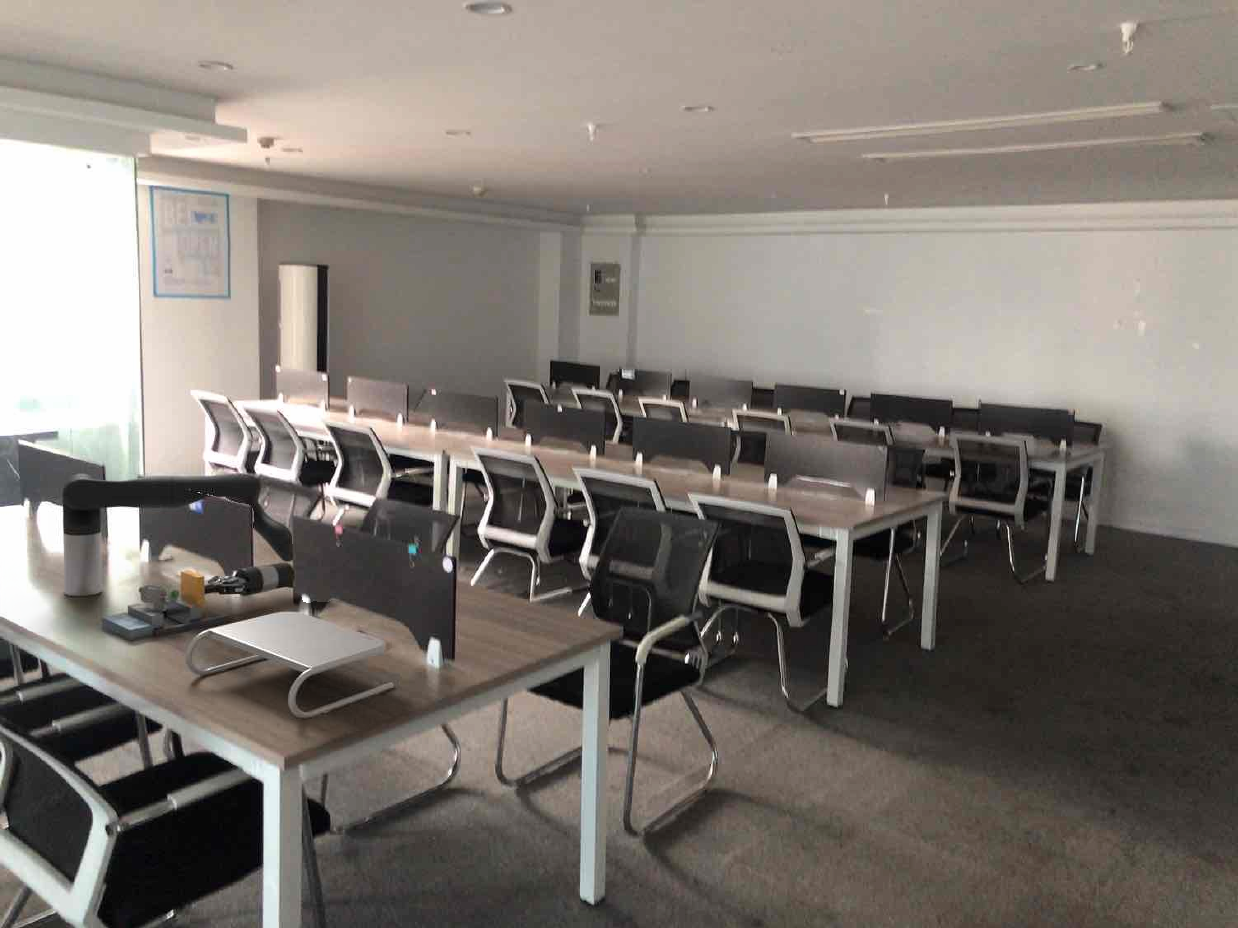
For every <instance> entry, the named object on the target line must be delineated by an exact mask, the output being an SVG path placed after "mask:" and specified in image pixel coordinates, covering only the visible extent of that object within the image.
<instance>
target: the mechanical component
mask: <svg viewBox="0 0 1238 928" xmlns="http://www.w3.org/2000/svg"><path fill="white" fill-rule="evenodd" d="M138 592H139V593H140V599H141V601H142V602H143V603H147V604H153V608H152V609H153V610H156V611H158V612H160V613H162V610H163V609H166V605H169V604H172V603H174V602H176V601H177V597H178V596H179V594H180V593H179V591H178V590H177V589H170V590H169V592H168V590H166V587H165V586H159V585H158V586H157V585H150V584H146V585H143V586H139V589H138ZM166 598H167V599H169V601H168V600H166Z"/></svg>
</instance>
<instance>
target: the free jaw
mask: <svg viewBox="0 0 1238 928" xmlns="http://www.w3.org/2000/svg"><path fill="white" fill-rule="evenodd" d="M204 585H205V575H202V574H200V573H197V572H195V571H191V570H189V569H187V570H181V571H180V596H179V595H178V597H177V601H176V602H174V603H172V604H169V605H165V609H166V616H165V617H167V618H170V619H173V620H175V621H176V622H179V623H181V624H185V623H190V622H194V621H199V620H204V619H205V594H204ZM165 600H168V601H169V599H167V598H165Z"/></svg>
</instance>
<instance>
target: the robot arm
mask: <svg viewBox="0 0 1238 928" xmlns="http://www.w3.org/2000/svg"><path fill="white" fill-rule="evenodd" d="M189 489H190V490H189ZM261 489H262V483H261V480H259V478H258V477H257V476H255V475H253V474H249V473H244V472H243V473H239V472H238V473H237V472H236V473H227V474H217V475H215V474H214V475H190V476H189V475H187V476H185V475H183V476H182V475H181V476H178V475H151V476H144V477H138V478H137V477H136V478H133V479H132V478H131V479H127V480H103V479H102V480H101V479H96V478H95V477H93V476H92V475H90V474H88V473H76V474H73V475H70V476H69V477H68V478H67V479H66V480H65V482H64V484H63V485H62V492H61V493H62V496H61V497H62V528H63V529H62V531H63V533H62V534H63V570H64V581H63V583H64V594H65V596H70V597H85V596H86V597H87V596H93V595H97V594H99V593H101V592H102V591H103V579H102V578H103V571H102V569H103V564H102V563H103V561H102V515H101V509H109V508H138V509H176V508H177V509H179V508H183V507H186V506H188V505H192V504H195V503H197V502H199V501H202V500H206V499H207V498H206V497H211V496H210V495H213V496H216V497H215V498H225V499H226V498H227V499H229V500H231V501H234V502H238V503H245V504H249V505H251V506H252V508H253V511H254V522H253V528H252V529H254V530H255V532H256V533H258V534H259V535H260V536H261V537H262V539H263V540H264V541H265V542H266V543H267V545H269V547H271V548H272V551H274V552H275V554H276V555H277V556H278V557H279V558H280V560H282V561H283V562H278V563H272V564H262V565H256V566H250V567H249V566H248V567H244V568H240V569H238V570H237V571H236V573H235V574H234V576H233V575H227V576H225V577H221V578H220V575H215V576H214V577H211V578H210V579H208V581H207V583H206V584H205V583H204V595H208V594H215V595H216V594H218V595H241V596H243V597H247V596H248V597H249V596H252V595H256V594H263V593H268V592H270V591H273V590H278V589H282V588H289V589H294V588H293V581H294V570H293V569H294V568H293V566H292V565H291V564H290V563H288V562H292V561H294V560H293V544H292V534H291V530H290V529H289V528H288V527H287V526H286V525H285V524H283V523H282V522H279V521H277V520H275V519H274V518H272V517H271V516H269V515H268V514H267V512H265V510H264V509H263V507H262V506H261V504H260V503H259V499H260V495H261ZM198 492H200V493H198ZM201 493H202V494H201ZM207 494H209V496H208V495H207ZM205 496H206V497H205ZM211 498H212V497H211Z"/></svg>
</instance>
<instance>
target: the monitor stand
mask: <svg viewBox="0 0 1238 928" xmlns="http://www.w3.org/2000/svg"><path fill="white" fill-rule="evenodd" d="M210 636H211V638H212V639H214V640H216V641H219V642H222V643H224V644H227V645H230V646H231V647H235V648H237V649H240V650H243V651H246V652H248V653H250V654H253V655H252V656H248V657H244V658H242V659H238V660H234V661H230V662H227V663H224V664H220V665H217V666H213V667H209V668H206V669H200V668H198V667H197V666H196V665H195V663H194V662H193V653H194V651H195V649H196V647H197V645H198V644H199V643H200V642H201V641H202V640H203V639H204V638H206V637H210ZM386 649H387V643H386V642H385V641H384V640H383V639H381V638H378V637H376V636H372V635H369V634H367V633H364V632H360V631H357V630H354V629H350V628H348V627H345V626H342V625H338V624H335V623H333V622H329V621H327V620H323V619H322V618H321V619H320V618H318V617H315V616H311V615H310V614H309V615H308V614H306V613H302V612H298V611H279V612H273V613H269V614H265V615H261V616H258V617H252V618H249V619H245V620H241V621H237V622H233V623H228V624H224V625H220V626H217V627H212V628H207V630H203V631H202V632H200V633H199V634H197V635H196V636H195V637H194V638H193V639H192V640H191V642H189V644H188V646H187V649H186V651H185V654H184V661H185V664H186V666H187V668H188V670H190V671H191V672H192V673H193V674H196V675H198V676H209V675H213V673H214V674H216V672H217V673H220V672H219V671H222V672H225V671H227V670H230V669H229V668H231V669H233V668H232V667H234V668H236V667H235V666H238V667H241V666H244V665H243V664H245V665H248V664H251V663H250V662H252V663H254V662H253V661H255V662H259V661H262V660H265V658H266V660H269V661H272V662H275V663H277V664H280V665H283V666H284V667H287V668H290V669H293V670H295V671H298V672H300V673H301V674H299V676H298V677H297V678H296V679H295V680H294V682H293V684H292V685H291V687H290V689H289V692H288V697H287V704H288V707H289V710H290V711H291V713H292V714H293V715H294V716H296V717H298V718H300V719H309V718H308V717H311V718H314V717H313V716H315V717H317V716H320V715H322V714H321V713H325V714H328V712H331V711H333V710H332V709H334V708H337V709H339V707H340V708H342V707H344V705H345V706H347V705H346V704H348V703H351V704H353V703H356V702H358V701H357V700H359V701H361V700H360V699H362V700H364V698H365V699H367V698H369V696H370V697H372V696H371V695H373V696H375V695H374V694H377V695H379V693H380V692H381V693H383V691H384V692H386V691H385V690H387V689H390V690H392V689H394V688H395V683H394V682H388V683H385V684H382V685H380V686H377V687H374V688H371V689H368V690H366V691H363V692H360V693H357V694H354V695H351V696H348V697H345V698H342V699H340V700H337V701H335V702H332V703H329V704H325V705H323V706H321V707H317V708H314V709H312V710H309V711H302V710H301V709H300V708H299V707H298V705H297V702H296V697H297V693H298V691H299V689H300V687H301V685H302V683H303V682H304V681H305V680H306V679H308V678H310V677H311V676H315V675H316V674H320V673H324V672H326V671H329V670H332V669H335V668H339V667H342V666H344V665H345V666H346V665H348V664H351V663H355V662H358V661H361V660H363V659H367V658H370V657H373V656H376V655H379V654H381V653H383V652H385V651H386ZM258 660H259V661H258ZM247 663H248V664H247ZM240 665H241V666H240ZM226 669H227V670H226ZM224 670H225V671H224ZM393 687H394V688H393ZM391 688H392V689H391ZM387 691H388V690H387ZM381 693H380V694H381ZM366 697H367V698H366ZM355 701H356V702H355ZM352 702H353V703H352ZM348 705H349V704H348ZM341 706H342V707H341ZM330 710H331V711H330ZM334 710H335V709H334ZM319 714H320V715H319ZM316 715H317V716H316Z"/></svg>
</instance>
